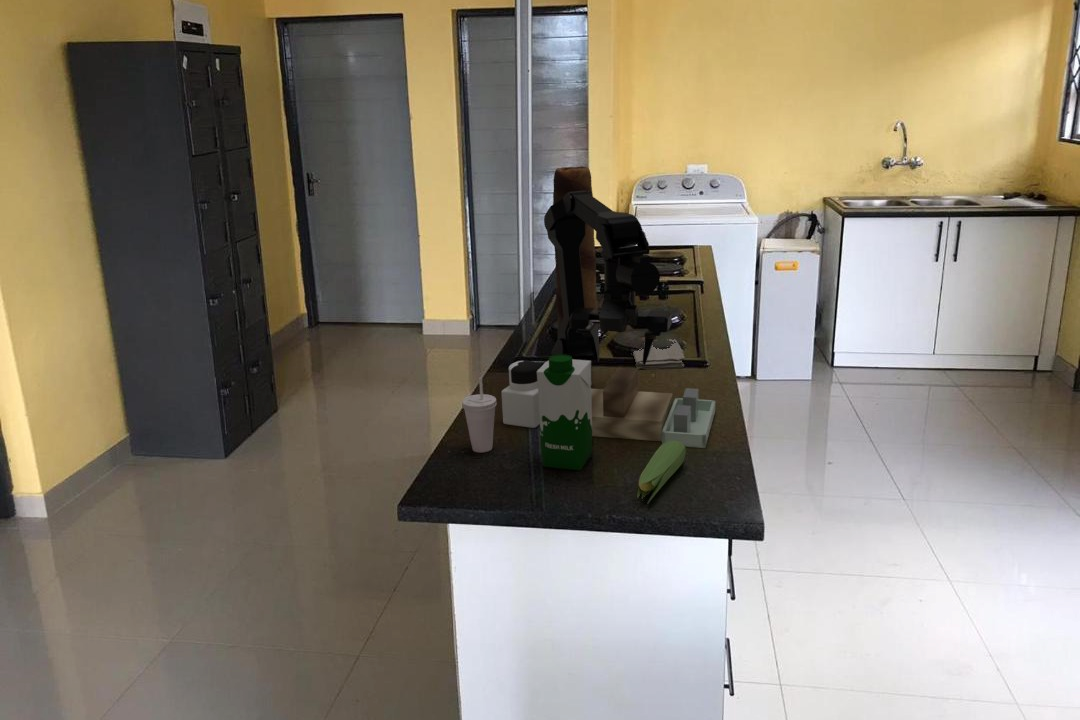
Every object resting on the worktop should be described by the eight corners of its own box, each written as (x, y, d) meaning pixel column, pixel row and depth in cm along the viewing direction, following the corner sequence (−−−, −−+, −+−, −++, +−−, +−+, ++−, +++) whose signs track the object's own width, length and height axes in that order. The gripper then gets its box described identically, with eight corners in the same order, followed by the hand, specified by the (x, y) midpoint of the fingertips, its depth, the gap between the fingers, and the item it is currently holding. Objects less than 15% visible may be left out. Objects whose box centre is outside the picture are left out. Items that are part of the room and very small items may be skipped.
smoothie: (494, 456, 158) (490, 384, 154) (460, 454, 159) (455, 383, 155) (503, 442, 164) (498, 372, 160) (470, 440, 165) (465, 371, 161)
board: (572, 434, 166) (572, 415, 165) (590, 406, 180) (590, 388, 178) (661, 441, 161) (661, 421, 160) (672, 412, 175) (672, 393, 174)
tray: (661, 444, 160) (661, 432, 159) (675, 409, 176) (675, 397, 175) (705, 448, 158) (705, 435, 157) (715, 412, 174) (715, 400, 173)
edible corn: (694, 440, 151) (670, 429, 153) (654, 491, 135) (627, 479, 136) (686, 464, 153) (662, 453, 155) (645, 517, 137) (619, 505, 138)
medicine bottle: (550, 415, 176) (547, 359, 172) (535, 428, 170) (532, 370, 166) (518, 411, 179) (515, 356, 175) (502, 424, 172) (499, 367, 169)
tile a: (682, 397, 168) (695, 397, 167) (685, 388, 172) (698, 388, 172) (682, 420, 169) (695, 421, 168) (685, 411, 174) (698, 412, 173)
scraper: (603, 416, 164) (602, 391, 162) (618, 391, 176) (618, 367, 175) (624, 417, 162) (623, 392, 161) (637, 392, 175) (637, 368, 174)
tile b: (673, 414, 159) (687, 415, 158) (677, 404, 164) (690, 405, 163) (673, 439, 161) (687, 440, 160) (677, 429, 165) (690, 430, 165)
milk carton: (536, 468, 152) (531, 360, 146) (552, 448, 160) (548, 344, 154) (584, 473, 150) (581, 364, 143) (598, 452, 158) (595, 347, 151)
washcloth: (636, 372, 200) (636, 360, 199) (627, 349, 217) (627, 337, 216) (687, 370, 200) (688, 357, 199) (674, 347, 217) (674, 335, 217)
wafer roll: (554, 356, 213) (547, 169, 199) (560, 343, 223) (554, 165, 209) (596, 356, 211) (592, 168, 197) (600, 343, 221) (597, 164, 207)
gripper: (560, 292, 157) (563, 373, 162) (663, 295, 152) (662, 379, 157) (575, 278, 167) (577, 355, 172) (672, 280, 162) (671, 360, 167)
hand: (620, 362), depth 167 cm, fingers open, 9 cm apart
